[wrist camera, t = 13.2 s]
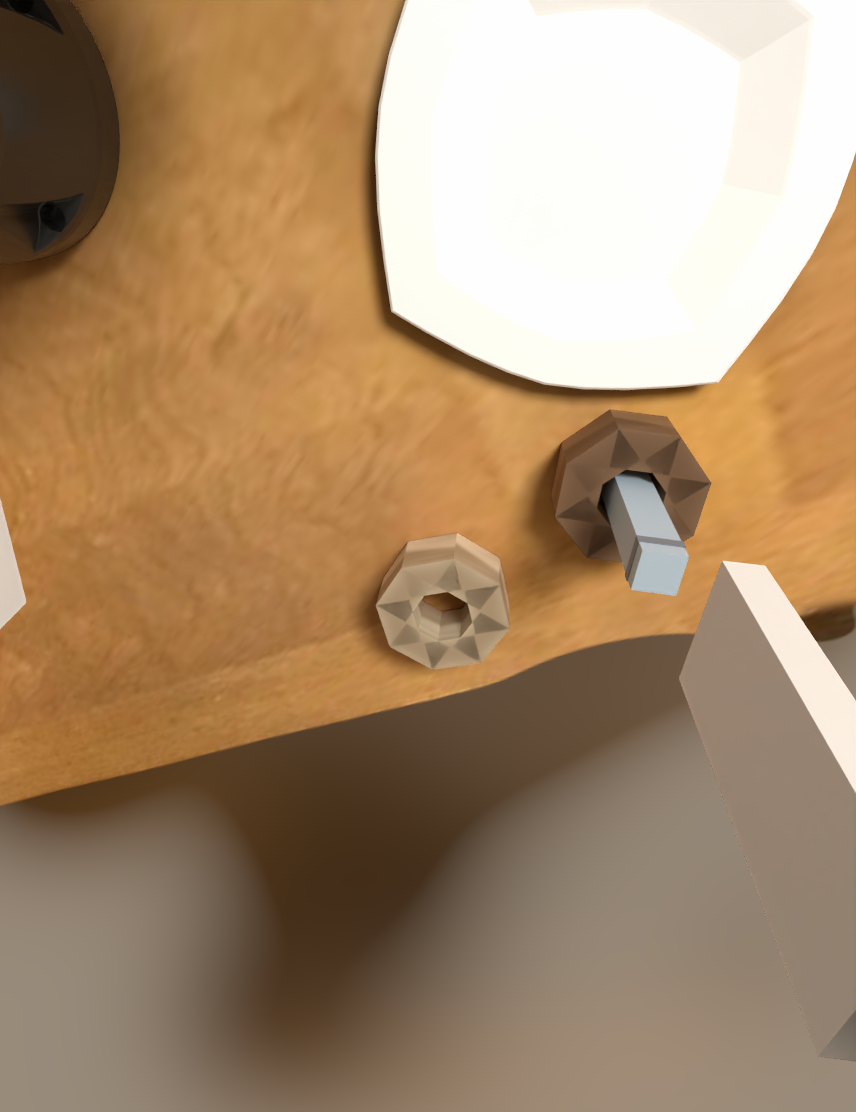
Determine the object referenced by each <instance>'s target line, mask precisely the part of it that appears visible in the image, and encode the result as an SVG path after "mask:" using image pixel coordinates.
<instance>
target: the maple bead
mask: <svg viewBox="0 0 856 1112" xmlns="http://www.w3.org/2000/svg"><path fill="white" fill-rule="evenodd" d="M444 592H448V593H450V594H452V595H454V596H456V597H457V598H459V599H461V600H463V601H464V602H466V605H465V606H464V607H463V608H462V609H455V610H449V611H443V612H442V611H440V610H438V609H436V608H435V607H433V606H431V605H429V604H427V603H426V602H424V601H423V597H424V596H426V595H432V594H438V593H444ZM376 608H377V611H378V614H379V617H380V620H381V623H382V626H383V629H384V632H385V635H386V638H387V640H388V643H389V646H390V647H391V648H393V649H395V650H396V651H398V652H400V653H402V654H404V655H406V656H408V657H410V658H411V659H413V660H415V661H417V662H419V663H421V664H423V665H424V666H426V667H428V668H430V669H432V670H435V669H442V668H449V667H456V666H463V665H470V664H477V663H481V662H482V661H483V660H484V659H485V658H486V656H487V655H488V654H489V653H490V652H491V650H492V649H493V648H494V647H495V646H496V644H497V643H498V642H499V641H500V640H501V639H502V637H503V636H504V635H505V634H506V633H507V631H508V630H509V629H510V625H509V597H508V593H507V588H506V584H505V580H504V575H503V571H502V567H501V562H500V558H499V557H497V556H496V555H494V554H492V553H491V552H489V551H487V550H485V549H484V548H482V547H480V546H479V545H477V544H475V543H473V542H472V541H470V540H468V539H466V538H465V537H463V536H461V535H460V534H458V533H454V534H448V535H443V536H437V537H431V538H426V539H420V540H415V541H409V542H407V544H406V545H405V547H404V548H403V550H402V551H401V553H400V554H399V556H398V557H397V559H396V560H395V562H394V563H393V565H392V566H391V568H390V569H389V570H388V572H387V573H386V575H385V576H384V578H383V582H382V585H381V589H380V592H379V596H378V599H377V603H376Z"/></svg>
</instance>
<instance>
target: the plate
mask: <svg viewBox="0 0 856 1112" xmlns="http://www.w3.org/2000/svg"><path fill="white" fill-rule="evenodd" d="M855 151H856V0H406V1H405V4H404V7H403V10H402V14H401V17H400V20H399V23H398V26H397V30H396V33H395V36H394V39H393V43H392V46H391V49H390V52H389V56H388V61H387V66H386V71H385V76H384V81H383V87H382V92H381V97H380V102H379V108H378V122H377V137H376V151H375V165H376V189H377V211H378V219H379V228H380V236H381V244H382V252H383V260H384V268H385V274H386V281H387V287H388V294H389V301H390V307H391V312H393V313H394V314H396V315H397V316H399V317H401V318H402V319H404V320H406V321H407V322H409V323H411V324H412V325H414V326H416V327H417V328H419V329H421V330H422V331H424V332H426V333H427V334H429V335H431V336H433V337H435V338H437V339H439V340H441V341H442V342H444V343H446V344H448V345H450V346H452V347H454V348H456V349H457V350H459V351H461V352H463V353H465V354H467V355H469V356H471V357H473V358H475V359H478V360H480V361H482V362H484V363H487V364H489V365H491V366H494V367H496V368H498V369H500V370H503V371H505V372H507V373H510V374H513V375H516V376H520V377H523V378H526V379H529V380H532V381H535V382H538V383H541V384H544V385H552V386H561V387H569V388H578V389H597V390H636V389H655V388H674V387H684V386H694V385H704V384H713V383H718V382H719V381H720V379H721V378H722V377H723V376H724V374H725V373H726V372H727V371H728V369H729V368H730V367H731V366H732V364H733V363H734V362H735V361H736V359H737V358H738V357H739V356H740V354H741V353H742V352H743V351H744V349H745V348H746V347H747V346H748V344H749V343H750V342H751V341H752V339H753V338H754V337H755V335H756V334H757V333H758V331H759V330H760V329H761V327H762V326H763V325H764V323H765V322H766V321H767V319H768V318H769V317H770V316H771V314H772V313H773V312H774V310H775V309H776V308H777V306H778V305H779V304H780V302H781V301H782V300H783V298H784V297H785V295H786V294H787V292H788V290H789V289H790V287H791V286H792V284H793V283H794V281H795V280H796V278H797V277H798V275H799V274H800V272H801V270H802V269H803V267H804V266H805V264H806V263H807V261H808V260H809V258H810V257H811V255H812V253H813V251H814V249H815V248H816V246H817V244H818V242H819V240H820V238H821V236H822V234H823V232H824V230H825V228H826V226H827V224H828V222H829V220H830V218H831V216H832V214H833V212H834V210H835V208H836V206H837V203H838V200H839V197H840V195H841V192H842V189H843V186H844V184H845V181H846V178H847V176H848V173H849V170H850V167H851V165H852V162H853V159H854V155H855Z"/></svg>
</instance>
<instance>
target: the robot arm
mask: <svg viewBox="0 0 856 1112" xmlns="http://www.w3.org/2000/svg"><path fill="white" fill-rule="evenodd" d="M119 148H120V147H119V123H118V115H117V108H116V103H115V98H114V94H113V90H112V86H111V82H110V79H109V76H108V73H107V70H106V67H105V65H104V62H103V59H102V57H101V55H100V52H99V50H98V48H97V45H96V43H95V41H94V39H93V37H92V35H91V33H90V32H89V30H88V28H87V26H86V25H85V23H84V21H83V19H82V18H81V16H80V15H79V13H78V12H77V10H76V9H75V7H74V6H73V4H72V3H71V2H70V0H0V264H12V263H20V262H26V261H31V260H36V259H42V258H46V257H49V256H53V255H55V254H58V253H60V252H62V251H64V250H66V249H68V248H70V247H71V246H73V245H74V244H76V243H77V242H78V241H80V240H81V239H82V238H83V237H84V236H85V235H86V234H87V233H88V232H89V231H90V230H91V229H92V228H93V227H94V225H95V224H96V223H97V221H98V220H99V218H100V217H101V215H102V213H103V212H104V210H105V208H106V206H107V204H108V201H109V199H110V196H111V193H112V191H113V187H114V184H115V180H116V175H117V169H118V162H119ZM25 603H26V599H25V595H24V591H23V587H22V583H21V579H20V575H19V571H18V567H17V563H16V559H15V555H14V551H13V547H12V543H11V539H10V535H9V531H8V527H7V524H6V520H5V516H4V512H3V508H2V504H1V500H0V629H1V628H2V627H3V626H4V625H5V624H6V623H7V622H8V621H9V620H10V619H11V618H12V617H13V616H14V615H15V614H16V613H17V612H18V610H19V609H20V608H21V607H22V606H23V605H24V604H25ZM679 680H680V683H681V685H682V688H683V691H684V694H685V696H686V699H687V702H688V704H689V707H690V710H691V712H692V715H693V718H694V721H695V724H696V726H697V729H698V731H699V734H700V737H701V740H702V743H703V745H704V748H705V751H706V753H707V756H708V759H709V762H710V764H711V767H712V770H713V773H714V775H715V778H716V781H717V783H718V786H719V789H720V791H721V794H722V797H723V800H724V803H725V805H726V808H727V811H728V813H729V816H730V819H731V821H732V824H733V827H734V830H735V832H736V835H737V838H738V841H739V843H740V846H741V849H742V851H743V854H744V857H745V860H746V862H747V865H748V868H749V871H750V873H751V876H752V879H753V882H754V884H755V887H756V890H757V892H758V895H759V898H760V901H761V903H762V906H763V909H764V911H765V914H766V917H767V919H768V922H769V925H770V928H771V931H772V933H773V936H774V939H775V941H776V944H777V947H778V950H779V952H780V955H781V958H782V960H783V963H784V966H785V969H786V971H787V974H788V977H789V980H790V982H791V985H792V988H793V990H794V993H795V996H796V999H797V1001H798V1004H799V1007H800V1010H801V1012H802V1015H803V1018H804V1020H805V1023H806V1026H807V1029H808V1031H809V1034H810V1037H811V1039H812V1042H813V1045H814V1048H815V1050H816V1053H817V1056H818V1057H824V1058H833V1059H840V1060H848V1061H856V700H855V699H854V698H853V696H852V695H851V693H850V692H849V690H848V689H847V687H846V686H845V684H844V683H843V681H842V680H841V678H840V677H839V675H838V674H837V672H836V671H835V669H834V668H833V666H832V665H831V663H830V662H829V660H828V659H827V657H826V656H825V654H824V653H823V651H822V650H821V648H820V647H819V645H818V644H817V642H816V641H815V639H814V638H813V636H812V635H811V633H810V632H809V630H808V629H807V627H806V626H805V624H804V623H803V621H802V620H801V618H800V617H799V615H798V614H797V612H796V611H795V609H794V608H793V606H792V605H791V603H790V602H789V600H788V599H787V597H786V596H785V594H784V593H783V591H782V590H781V588H780V587H779V585H778V584H777V582H776V581H775V579H774V578H773V576H772V575H771V574H770V572H769V571H768V569H767V568H766V566H764V565H755V564H746V563H737V562H729V561H722V563H721V566H720V568H719V571H718V574H717V577H716V579H715V582H714V585H713V587H712V590H711V593H710V596H709V598H708V601H707V604H706V606H705V609H704V612H703V615H702V617H701V620H700V623H699V625H698V628H697V631H696V634H695V637H694V639H693V642H692V644H691V647H690V650H689V653H688V655H687V658H686V661H685V663H684V666H683V669H682V672H681V674H680V677H679Z"/></svg>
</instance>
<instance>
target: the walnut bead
mask: <svg viewBox="0 0 856 1112" xmlns="http://www.w3.org/2000/svg"><path fill="white" fill-rule="evenodd" d="M624 470H633V471H641V472H648V473H653V476H652V479H651V480H652V482H653V484H654V486H655V488H656V490H657V492H658V494H659V496H660V498H661V501H662V503H663V505H664V507H665V509H666V511H667V513H668V515H669V517H670V519H671V521H672V523H673V525H674V527H675V529H676V531H677V533H678V535H679V537H680V539H681V541H683V542H684V541H685V540H687V539H689V538H690V537H692V536H694V533H695V530H696V527H697V524H698V521H699V518H700V515H701V512H702V509H703V506H704V503H705V500H706V497H707V494H708V491H709V488H710V485H711V482H710V480H709V479H708V478H707V476H706V475H705V473H704V472H703V470H702V468H701V467H700V465H699V464H698V462H697V461H696V459H695V458H694V456H693V455H692V453H691V452H690V450H689V449H688V447H687V446H686V444H685V443H684V441H683V440H682V438H681V437H680V435H679V434H678V432H677V431H676V429H675V428H674V427H673V425H672V424H671V422H670V421H669V419H668V418H667V417H664V416H656V415H648V414H640V413H632V412H625V411H617V410H609V411H607V412H606V413H604V414H603V415H601V416H600V417H598V418H597V419H595V420H594V421H592V422H591V423H590V424H588V425H587V426H585V427H584V428H582V429H581V430H579V431H578V432H576V433H575V434H573V435H572V436H570V437H569V438H568V439H566V440H565V441H563V442H562V443H561V448H560V453H559V458H558V462H557V467H556V472H555V477H554V481H553V486H552V491H551V495H552V502H553V508H554V515H555V518H556V519H557V521H558V522H559V523H560V524H561V526H562V527H563V528H564V529H565V531H566V532H567V533H568V535H569V536H570V537H571V538H572V540H573V541H574V542H575V544H576V545H577V546H578V547H579V549H580V550H581V551H582V552H583V554H584V555H585V556H586V558H593V559H600V560H608V561H615V562H622V559H621V556H620V553H619V550H618V547H617V543H616V540H615V537H614V534H613V531H612V527H611V524H610V521H609V518H608V515H607V511H606V508H605V505H604V502H603V501H602V500H601V498H600V493H601V489H602V485H603V484H604V483H606V482H607V481H609V480H610V479H612V478H613V477H615V476H617V475H618V474H620V473H621V472H623V471H624Z"/></svg>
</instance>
